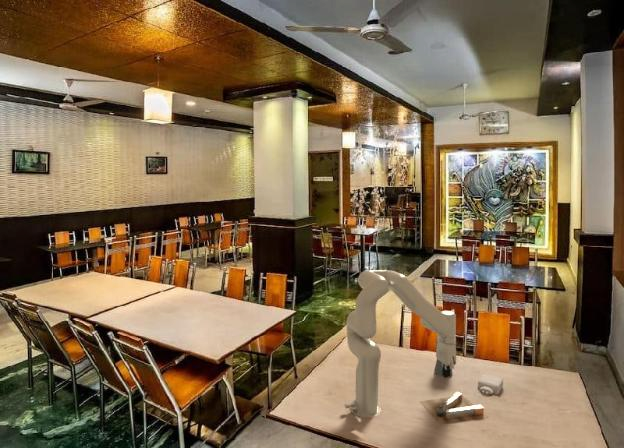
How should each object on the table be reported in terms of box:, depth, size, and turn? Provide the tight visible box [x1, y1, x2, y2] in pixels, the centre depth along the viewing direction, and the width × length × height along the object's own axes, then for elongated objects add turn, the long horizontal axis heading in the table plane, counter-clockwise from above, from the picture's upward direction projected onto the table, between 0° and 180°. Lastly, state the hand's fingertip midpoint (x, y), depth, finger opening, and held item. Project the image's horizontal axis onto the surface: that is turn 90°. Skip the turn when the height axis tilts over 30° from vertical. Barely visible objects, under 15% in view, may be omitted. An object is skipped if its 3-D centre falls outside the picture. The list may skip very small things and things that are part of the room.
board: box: [418, 395, 489, 425], centre depth 178 cm, size 22×18×1 cm
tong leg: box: [436, 391, 463, 417], centre depth 179 cm, size 19×3×3 cm, turn 134°
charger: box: [477, 373, 504, 396], centre depth 195 cm, size 5×9×15 cm
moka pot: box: [433, 338, 453, 377], centre depth 211 cm, size 10×15×20 cm, turn 148°
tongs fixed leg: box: [444, 404, 485, 419], centre depth 172 cm, size 17×2×3 cm, turn 104°
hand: (446, 376), depth 191 cm, fingers closed
